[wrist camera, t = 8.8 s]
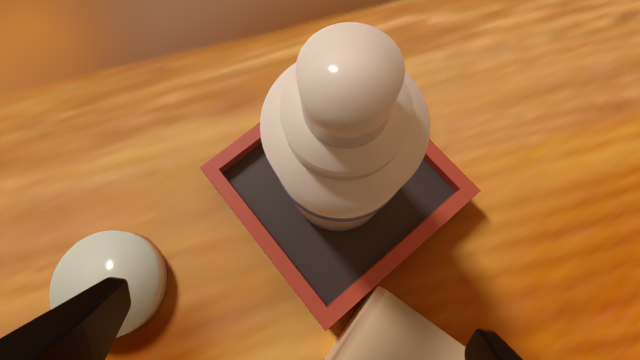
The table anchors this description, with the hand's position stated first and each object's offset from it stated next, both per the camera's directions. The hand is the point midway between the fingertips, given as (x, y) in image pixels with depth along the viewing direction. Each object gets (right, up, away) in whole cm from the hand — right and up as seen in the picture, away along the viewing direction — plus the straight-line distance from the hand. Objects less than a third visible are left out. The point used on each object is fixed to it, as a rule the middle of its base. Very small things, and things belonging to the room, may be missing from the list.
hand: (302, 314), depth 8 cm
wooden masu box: (+4, -6, +10) cm, 12 cm away
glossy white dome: (-12, -3, +11) cm, 16 cm away
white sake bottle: (+2, +3, +11) cm, 12 cm away
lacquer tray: (+2, +3, +12) cm, 13 cm away
